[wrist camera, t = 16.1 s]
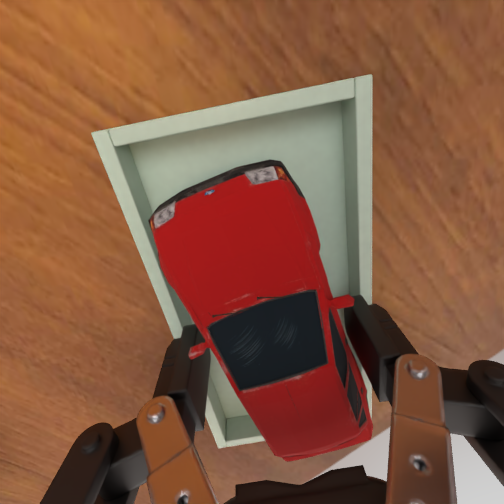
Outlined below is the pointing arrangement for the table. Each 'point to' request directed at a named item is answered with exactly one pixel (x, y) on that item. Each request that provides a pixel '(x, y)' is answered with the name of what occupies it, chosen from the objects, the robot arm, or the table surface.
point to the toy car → (265, 306)
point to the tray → (247, 152)
